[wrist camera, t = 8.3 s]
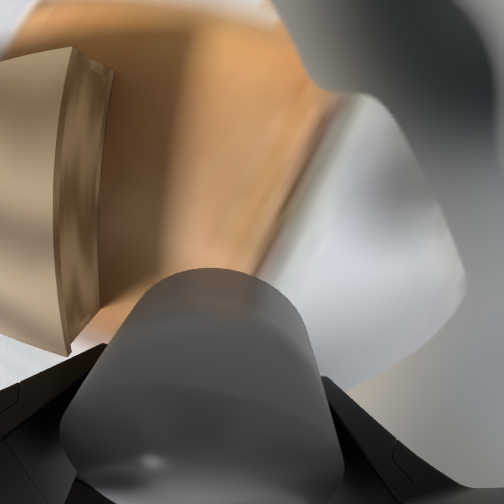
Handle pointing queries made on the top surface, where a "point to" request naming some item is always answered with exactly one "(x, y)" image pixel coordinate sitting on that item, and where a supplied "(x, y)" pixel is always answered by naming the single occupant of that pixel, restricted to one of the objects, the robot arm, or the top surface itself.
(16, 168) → the lid
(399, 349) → the top surface
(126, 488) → the grey domed cylinder
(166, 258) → the top surface
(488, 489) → the robot arm
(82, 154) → the box
